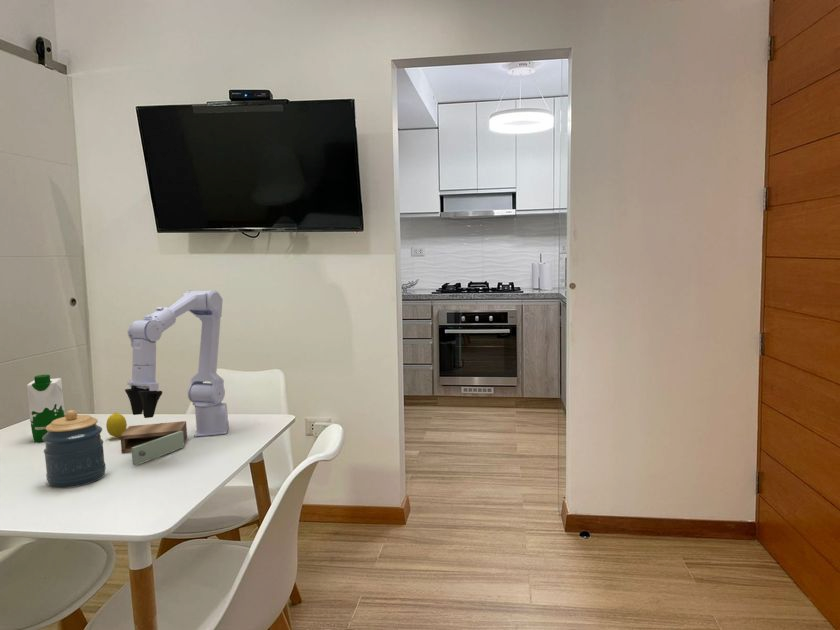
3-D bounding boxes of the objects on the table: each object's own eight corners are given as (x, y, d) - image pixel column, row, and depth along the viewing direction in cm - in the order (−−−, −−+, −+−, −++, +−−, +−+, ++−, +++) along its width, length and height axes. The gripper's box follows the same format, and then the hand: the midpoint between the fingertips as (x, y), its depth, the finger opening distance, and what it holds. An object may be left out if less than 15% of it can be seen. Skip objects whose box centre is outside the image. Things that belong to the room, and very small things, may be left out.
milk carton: (29, 444, 181) (22, 378, 179) (38, 435, 190) (31, 373, 188) (62, 440, 184) (56, 376, 182) (69, 432, 193) (63, 370, 190)
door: (181, 446, 173) (180, 430, 173) (186, 447, 172) (185, 431, 172) (132, 464, 159) (131, 447, 159) (137, 465, 158) (136, 448, 158)
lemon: (131, 435, 187) (129, 410, 186) (120, 441, 182) (118, 415, 181) (114, 435, 188) (112, 410, 187) (103, 441, 182) (101, 415, 181)
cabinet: (187, 437, 183) (186, 421, 183) (181, 447, 174) (180, 430, 173) (130, 442, 180) (129, 426, 179) (121, 453, 170) (120, 435, 170)
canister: (112, 478, 151) (106, 409, 149) (52, 493, 142) (45, 420, 140) (99, 465, 161) (93, 400, 159) (42, 479, 152) (35, 410, 150)
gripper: (118, 364, 164) (117, 414, 163) (139, 366, 154) (138, 420, 153) (145, 363, 169) (143, 412, 168) (166, 365, 159) (165, 417, 158)
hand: (142, 416), depth 161 cm, fingers open, 7 cm apart
